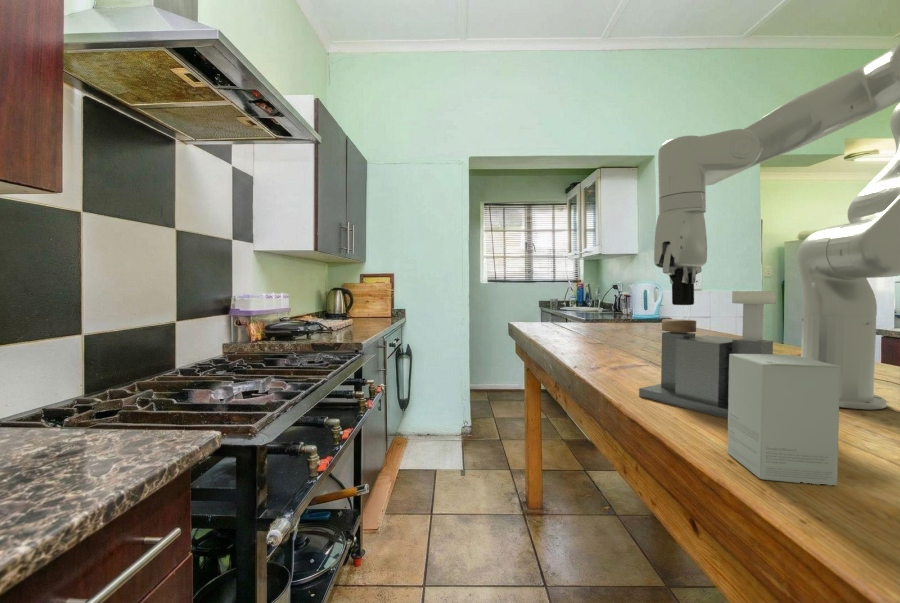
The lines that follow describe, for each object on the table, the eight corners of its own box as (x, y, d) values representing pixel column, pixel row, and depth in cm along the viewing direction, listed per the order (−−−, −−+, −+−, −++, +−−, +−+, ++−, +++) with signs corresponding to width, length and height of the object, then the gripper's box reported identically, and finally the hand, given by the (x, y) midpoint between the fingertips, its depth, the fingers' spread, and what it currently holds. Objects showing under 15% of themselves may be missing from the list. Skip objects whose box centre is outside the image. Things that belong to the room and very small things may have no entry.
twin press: (678, 387, 81) (679, 329, 80) (794, 412, 64) (796, 340, 64) (639, 396, 74) (640, 333, 74) (756, 426, 58) (758, 346, 57)
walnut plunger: (671, 378, 78) (672, 318, 78) (701, 384, 73) (702, 320, 73) (654, 381, 76) (655, 319, 75) (684, 388, 71) (685, 322, 70)
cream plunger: (740, 360, 68) (742, 290, 67) (780, 365, 63) (782, 291, 62) (723, 363, 65) (725, 291, 65) (764, 369, 60) (766, 291, 60)
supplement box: (840, 487, 40) (844, 365, 40) (758, 480, 42) (761, 363, 41) (793, 457, 48) (796, 353, 47) (724, 452, 49) (727, 351, 49)
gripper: (684, 213, 80) (685, 302, 81) (638, 207, 73) (639, 306, 73) (724, 206, 74) (725, 303, 74) (678, 199, 66) (680, 307, 67)
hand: (683, 304), depth 74 cm, fingers closed
